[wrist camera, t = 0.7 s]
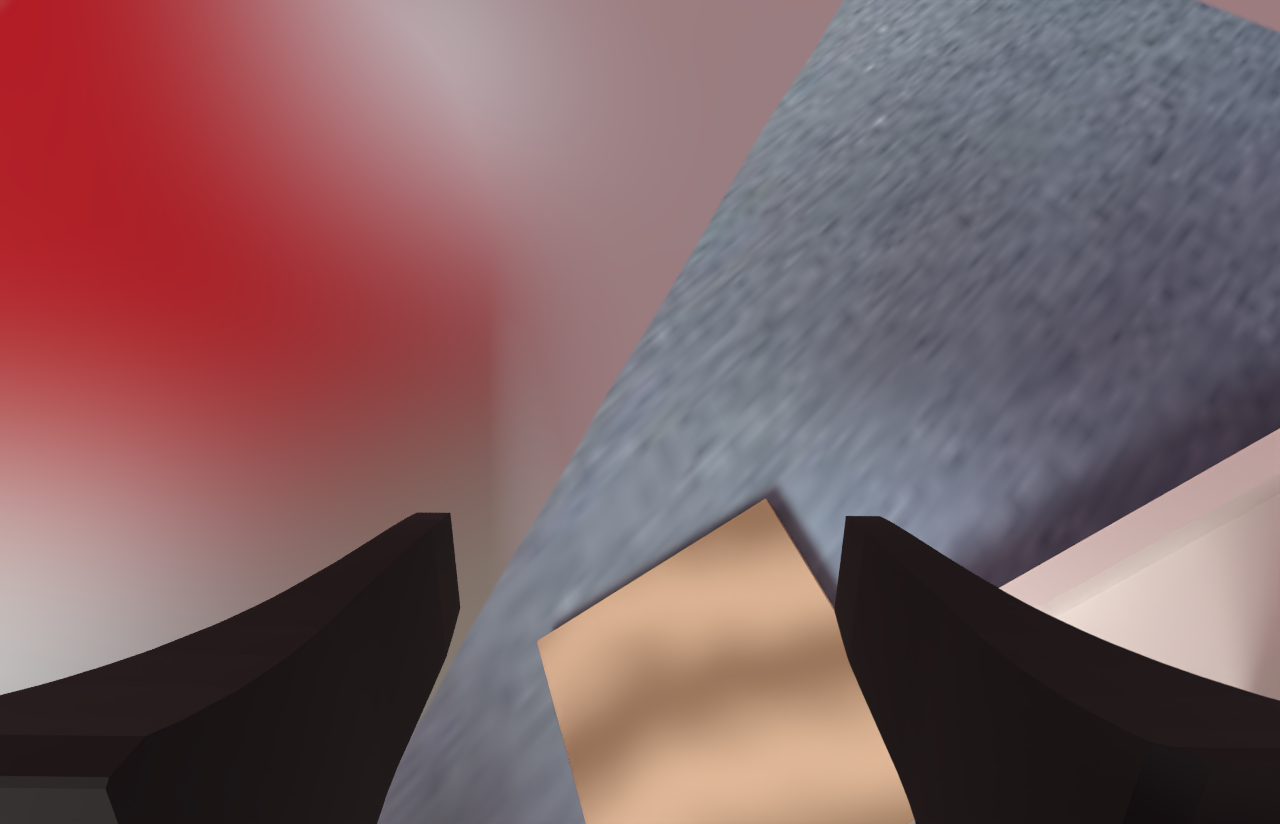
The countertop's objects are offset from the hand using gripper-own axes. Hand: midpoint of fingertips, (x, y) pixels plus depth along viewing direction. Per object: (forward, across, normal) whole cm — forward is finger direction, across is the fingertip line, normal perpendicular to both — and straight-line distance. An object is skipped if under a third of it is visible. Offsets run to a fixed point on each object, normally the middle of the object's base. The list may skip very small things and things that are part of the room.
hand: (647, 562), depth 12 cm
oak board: (+10, -3, +13) cm, 16 cm away
